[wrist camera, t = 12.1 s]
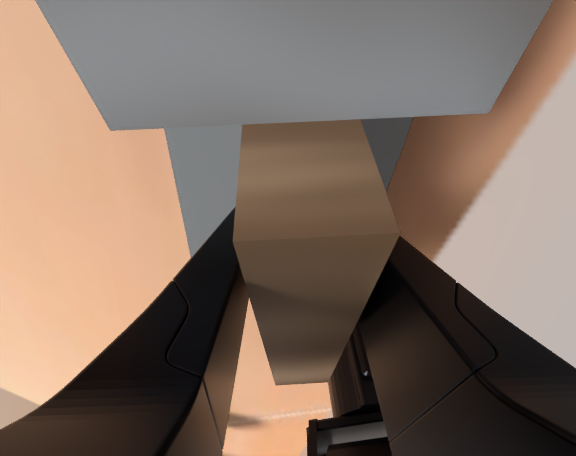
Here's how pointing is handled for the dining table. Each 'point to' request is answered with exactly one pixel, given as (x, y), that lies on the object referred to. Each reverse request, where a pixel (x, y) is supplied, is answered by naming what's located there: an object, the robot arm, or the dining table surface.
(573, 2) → the dining table surface
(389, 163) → the tool mat
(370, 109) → the grey brown t-shaped block
